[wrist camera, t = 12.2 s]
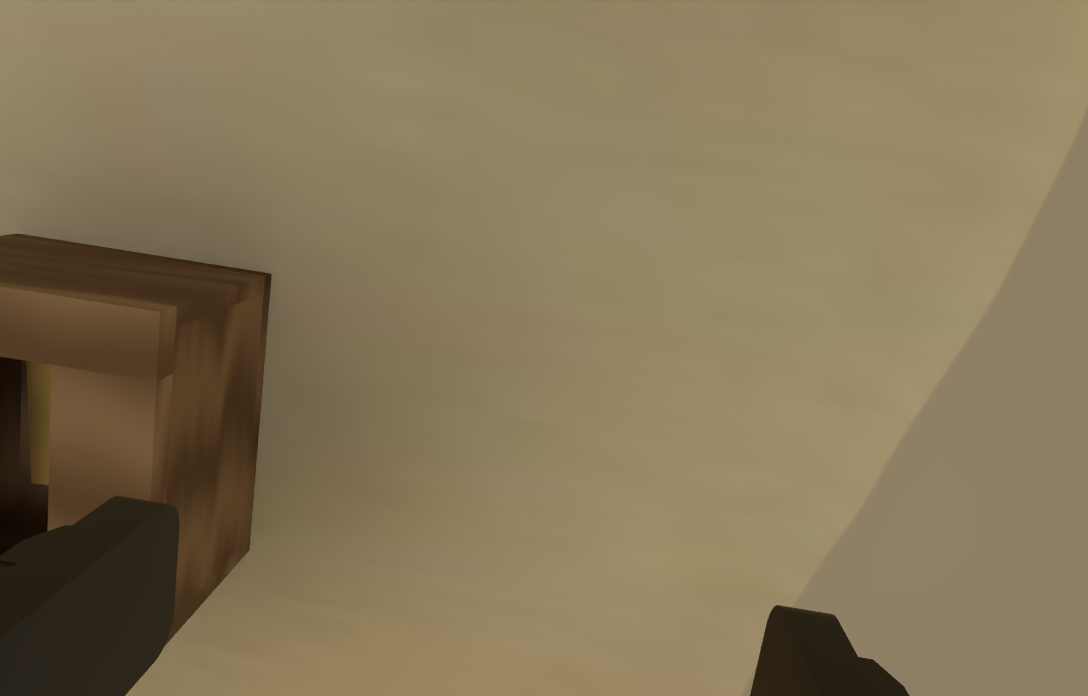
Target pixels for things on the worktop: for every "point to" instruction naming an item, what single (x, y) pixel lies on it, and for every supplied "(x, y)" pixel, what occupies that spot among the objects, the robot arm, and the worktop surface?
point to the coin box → (134, 395)
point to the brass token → (39, 419)
